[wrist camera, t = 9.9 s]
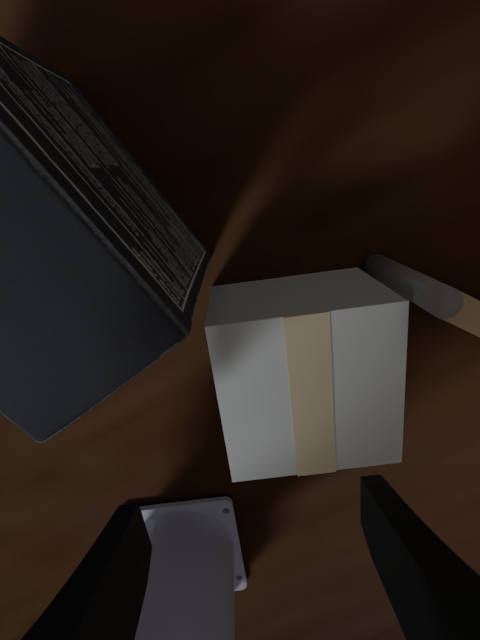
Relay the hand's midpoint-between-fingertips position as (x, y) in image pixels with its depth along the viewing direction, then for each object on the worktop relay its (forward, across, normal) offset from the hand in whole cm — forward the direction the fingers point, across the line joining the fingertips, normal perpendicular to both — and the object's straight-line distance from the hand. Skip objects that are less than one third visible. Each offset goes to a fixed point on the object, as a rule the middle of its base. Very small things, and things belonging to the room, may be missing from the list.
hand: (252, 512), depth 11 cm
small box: (+11, +6, -9) cm, 15 cm away
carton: (+10, -3, -1) cm, 11 cm away
